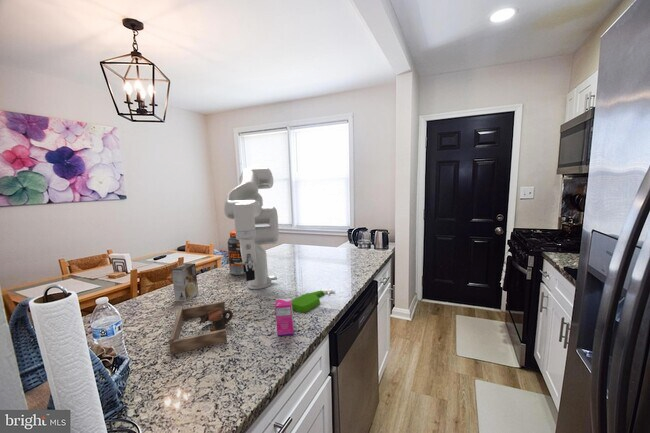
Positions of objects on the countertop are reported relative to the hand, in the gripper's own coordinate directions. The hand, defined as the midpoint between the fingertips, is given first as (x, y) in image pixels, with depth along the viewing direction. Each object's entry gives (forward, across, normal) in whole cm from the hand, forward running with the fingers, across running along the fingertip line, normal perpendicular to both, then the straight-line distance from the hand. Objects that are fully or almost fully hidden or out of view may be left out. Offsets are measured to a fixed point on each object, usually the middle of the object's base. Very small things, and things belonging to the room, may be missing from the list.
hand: (249, 275), depth 108 cm
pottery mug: (+18, -3, +14) cm, 22 cm away
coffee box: (+19, +34, +27) cm, 48 cm away
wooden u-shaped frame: (+17, -2, +19) cm, 26 cm away
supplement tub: (+20, +63, -2) cm, 67 cm away
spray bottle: (+19, +3, -28) cm, 33 cm away
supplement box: (+17, -18, -10) cm, 26 cm away
